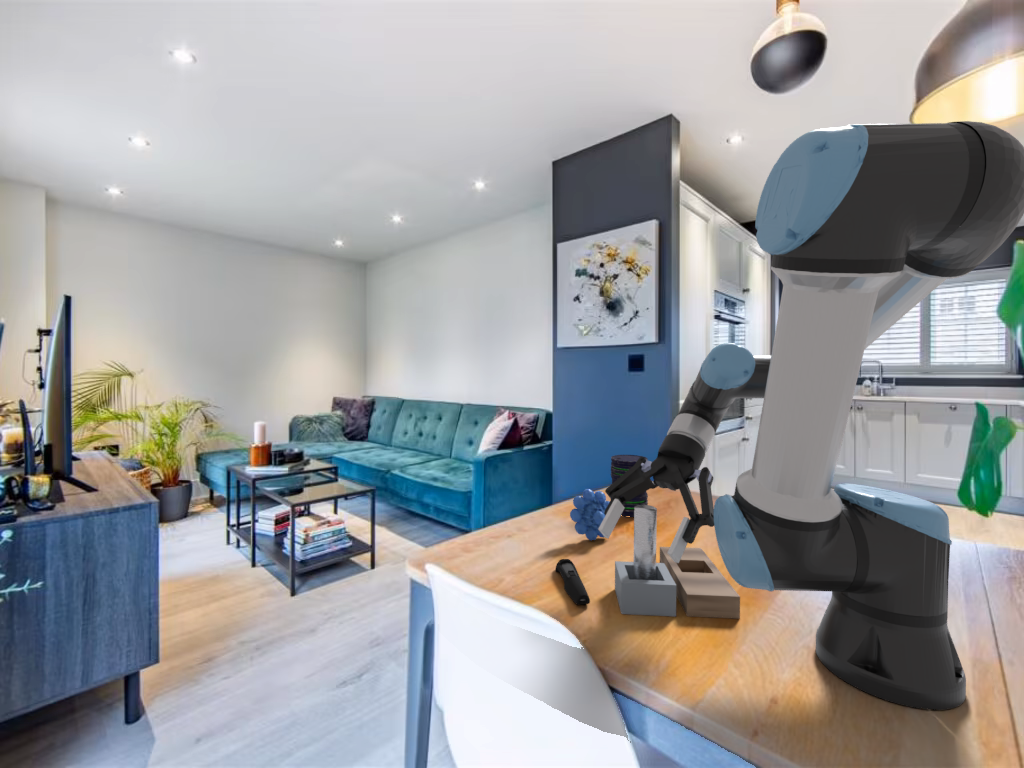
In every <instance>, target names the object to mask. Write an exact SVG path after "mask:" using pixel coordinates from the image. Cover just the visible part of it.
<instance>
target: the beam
mask: <svg viewBox="0 0 1024 768" xmlns="http://www.w3.org/2000/svg"><path fill="white" fill-rule="evenodd" d="M669 548H670V546H659V563H664V564H665V566H666V567H667V569H668V571H669V573H670V575H671V576H672V578H673V580H674V582H675V584H676V599H677V600H678V601H679V604H680V605H681V607H682V609H683V611H684V613H685V615H686V616H687V617H697V618H716V619H719V618H720V619H721V618H722V619H735V620H736V619H738V620H739V619H740V618H741V596H740V594H739V593H737V591H736V590H735V589H734V587H733V586H732V585H731V583H730V582H729V581H728V580H727V579H726V577H725V576H724V575H723V573H722V572H721V571H720V569H718V567H717V566H716V565H715V564H714V562H713V561H712V559H710V557H709V556H708V555H707V554H706V552H705V550H703V548H701V547H687V546H686V548H685V550H684V552H683V555H682V557H681V559H680V561H679V563H676V562H674V561H673V559H672V558H671V557H670V555H669V554H668V550H669Z"/></svg>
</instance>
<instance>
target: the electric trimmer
mask: <svg viewBox="0 0 1024 768" xmlns="http://www.w3.org/2000/svg"><path fill="white" fill-rule="evenodd" d="M555 573H559V574H560V575H561V577H562V579H563V582H564V584H563V587H564V591H565V592H566V593H567V595H568V597H570V598H571V600H572V601H573V602H574V603H575V605H578V606H579V605H589V604H590V603H591V600H590V597H589V594H588V592H587V590H586V587H585V585H584V583H583V581H582V579H581V577H580V574H579V572H578V569H577V568H576V565H575V564H574V563H573V561H572V560H571V559H570V558H563V559H562V558H561V559H560V560H558V562H557V563H556V565H555Z"/></svg>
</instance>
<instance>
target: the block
mask: <svg viewBox="0 0 1024 768" xmlns="http://www.w3.org/2000/svg"><path fill="white" fill-rule="evenodd" d="M633 569H634V561H619V560H614V591H615V595H616V598H617V602H618V606H619V611H620V614H621V615H637V616H638V615H639V616H657V617H660V616H661V617H677V596H676V584H675V582H674V580H673V578H672V576H671V575H670V573H669V571H668V569H667V567H666V566H665V564H664V563H660V562H656V580H633Z"/></svg>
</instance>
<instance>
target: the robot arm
mask: <svg viewBox="0 0 1024 768" xmlns="http://www.w3.org/2000/svg"><path fill="white" fill-rule="evenodd" d="M758 201H759V202H758V205H757V209H756V216H755V226H754V227H755V229H756V230H757V232H756V233H755V237H756V242H757V245H758V246H759V248H760V249H761V250H762V251H763V252H765V253H767V254H769V255H771V256H772V257H771V258H772V259H771V265H770V269H771V271H772V272H773V274H775V275H776V277H777V278H778V279H779V280H780V282H781V283H782V291H781V295H780V296H781V297H780V303H779V308H778V313H777V319H776V325H775V328H776V329H775V332H774V338H773V343H772V350H771V354H764V355H763V354H762V355H761V354H755V355H754V354H752V352H751V351H750V350H749V349H748V348H746V347H745V346H743V345H737V344H736V343H734V342H733V343H732V342H725V343H721V344H718V345H716V346H715V347H713V348H712V349H711V350H710V351H709V353H708V354H707V355H706V357H705V358H704V360H703V362H702V363H701V366H700V369H699V371H698V372H697V373H698V374H697V376H696V377H695V380H694V381H693V383H692V384H691V386H690V388H689V390H688V393H687V395H686V396H685V399H684V401H683V403H682V405H681V407H680V409H679V411H678V413H677V414H676V416H675V418H674V419H673V421H672V423H671V425H670V427H669V429H668V431H667V432H666V436H664V439H663V441H662V443H661V444H660V447H659V449H658V452H657V456H656V458H655V459H654V460H653V461H650V460H649V459H648V460H646V459H645V458H644V457H645V456H643V455H641V456H642V457H640V458H639V459H638V460H637V462H636V463H635V465H634V466H633V467H631V468H630V469H629V470H628V471H627V472H626V473H624V474H623V475H622V476H621V477H620V478H618V479H617V480H616V481H615V482H614V483H613V484H612V483H611V484H610V485H609V486H608V487H607V488H605V490H604V491H605V494H606V495H607V497H609V498H610V502H609V504H608V506H607V508H606V510H605V512H604V514H605V515H606V516H605V517H604V519H603V521H602V523H601V525H600V527H599V528H598V530H599V531H600V532H601V533H602V534H603V536H604V538H606V539H608V540H609V539H610V537H611V534H612V532H613V531H614V530H615V527H616V525H617V523H618V521H619V519H620V518H621V514H622V512H623V510H624V506H623V505H622V504H624V503H626V502H628V501H629V500H631V499H633V498H635V497H636V496H638V495H640V494H642V493H643V492H645V491H646V492H647V491H649V490H654V489H656V488H657V487H658V488H661V489H669V490H670V491H673V492H676V490H679V492H680V495H681V497H682V500H683V502H684V505H685V508H686V510H687V513H688V514H687V515H688V516H689V517H686V516H683V518H682V519H681V522H680V525H679V527H678V529H677V531H676V533H675V535H674V537H673V540H672V541H671V543H670V546H669V547H670V548H669V550H668V554H669V555H670V557H671V558H672V559H673V561H674V562H676V563H679V561H680V559H681V557H682V555H683V552H684V550H685V548H686V547H687V545H688V544H690V545H691V544H693V543H694V542H695V539H696V537H697V535H698V533H699V530H700V529H701V527H703V526H704V527H705V526H708V527H710V528H711V527H712V528H713V527H714V532H715V533H714V534H715V537H716V542H717V546H718V550H719V553H720V556H721V558H722V561H723V564H724V566H725V569H726V570H727V572H728V573H729V575H730V577H731V579H732V580H734V582H736V584H738V585H739V586H741V587H743V588H747V589H755V590H762V591H763V590H764V591H768V592H774V591H793V592H794V591H795V592H796V591H799V592H801V591H802V592H804V591H805V592H831V597H830V601H829V602H828V605H827V606H826V609H825V611H824V613H823V616H822V619H821V622H820V623H819V626H818V627H817V629H816V634H815V653H816V656H817V657H818V659H819V661H820V662H821V664H823V666H825V668H827V669H828V670H829V671H830V672H831V673H832V674H834V675H835V676H836V677H838V678H840V679H841V680H842V681H844V682H845V683H848V684H849V685H851V686H853V687H854V688H857V689H858V690H860V691H863V692H865V693H867V694H869V695H872V696H873V697H876V698H880V699H882V700H885V701H888V702H891V703H894V704H899V705H901V706H905V705H906V707H909V706H911V707H910V708H915V707H916V708H915V709H921V708H924V709H923V710H930V709H934V710H933V711H935V709H937V710H936V711H942V710H951V709H954V708H957V707H960V706H961V705H962V704H963V703H964V702H965V700H966V697H967V695H966V693H967V677H966V672H965V670H964V668H963V666H962V662H961V660H960V658H959V655H958V652H957V648H956V646H955V644H954V640H953V638H952V635H951V633H950V631H949V627H948V626H949V625H948V612H949V611H948V609H949V605H948V604H949V577H950V576H949V574H950V555H951V554H950V552H951V546H952V543H953V542H952V539H951V536H950V534H951V533H950V521H949V516H948V514H947V513H946V511H945V510H944V509H943V508H942V507H940V506H939V505H937V504H935V502H934V503H933V502H932V501H929V500H926V499H924V498H919V497H917V496H913V495H911V494H906V493H902V492H898V491H894V490H890V489H885V488H880V487H875V486H870V485H869V486H868V485H863V484H855V483H845V482H844V483H838V484H836V485H834V487H833V488H832V486H833V482H834V481H833V480H834V478H835V473H836V469H837V465H838V461H839V457H840V453H841V448H842V445H843V444H842V443H843V440H844V435H845V432H846V428H847V424H848V421H849V415H850V412H851V411H850V410H851V407H852V402H853V399H854V396H855V395H854V394H855V390H856V387H857V386H856V385H857V381H858V377H859V374H860V370H861V367H862V361H863V357H864V352H865V350H866V349H867V348H868V347H870V345H872V344H873V343H874V342H875V341H876V340H878V338H880V337H881V336H883V334H884V333H886V332H887V331H888V330H889V329H890V328H891V327H893V326H894V325H895V324H896V323H898V322H899V321H900V320H901V319H902V318H903V317H904V316H905V315H907V314H908V313H909V312H910V311H912V310H913V308H915V307H917V305H918V304H920V302H922V301H923V300H924V299H926V297H927V296H929V295H930V294H931V293H932V292H934V291H935V290H936V288H938V287H939V286H940V285H942V283H944V282H945V281H946V280H952V279H957V278H961V277H963V276H966V275H967V274H969V273H971V272H972V271H973V270H975V269H976V268H977V267H978V266H980V265H981V264H982V263H983V262H984V261H986V259H988V258H989V257H990V256H991V255H992V254H993V253H995V251H997V250H998V249H999V248H1000V247H1001V246H1002V245H1003V243H1005V242H1006V240H1007V239H1008V238H1009V236H1010V235H1011V234H1012V233H1013V232H1014V230H1016V228H1017V226H1018V225H1019V223H1020V221H1021V220H1022V218H1023V217H1024V145H1023V144H1022V143H1021V142H1020V140H1019V139H1018V138H1016V137H1015V136H1014V135H1012V134H1011V133H1010V132H1007V131H1006V130H1004V129H1002V128H1000V127H999V126H997V125H994V124H989V123H985V122H981V121H971V120H967V121H965V120H964V121H963V120H962V121H961V120H960V121H952V122H951V121H950V122H949V121H948V122H945V123H942V122H941V123H940V122H935V123H931V122H929V123H922V122H921V123H875V124H874V123H872V124H871V123H866V124H861V123H860V124H859V123H856V124H848V125H842V126H834V127H826V128H820V129H819V128H818V129H813V130H810V131H808V132H806V133H804V134H802V135H800V136H799V137H797V138H796V139H795V140H793V141H792V142H791V143H790V144H789V145H788V146H787V147H786V148H785V149H784V150H783V152H782V153H781V154H780V155H779V158H777V160H776V162H775V163H774V165H773V166H772V167H771V170H770V172H769V173H768V175H767V179H766V181H765V184H764V185H763V188H762V191H761V193H760V196H759V200H758ZM736 399H763V403H762V408H761V413H760V421H759V426H758V431H757V435H756V437H757V438H756V442H755V443H756V444H755V448H754V449H755V450H754V453H753V454H754V455H753V460H752V466H751V467H752V468H749V469H748V470H745V471H744V472H742V473H741V474H739V475H738V476H737V479H736V483H735V487H734V493H733V495H731V494H727V493H725V494H724V495H721V496H719V497H717V498H716V500H715V502H714V501H713V493H712V484H713V481H714V476H713V474H712V472H711V471H710V469H709V468H708V467H707V466H704V467H702V468H701V469H700V467H701V465H702V463H703V462H704V459H705V457H706V453H707V452H708V449H709V448H710V446H711V445H712V441H713V439H714V438H715V435H716V433H717V430H718V428H719V426H720V424H721V422H722V421H723V418H724V416H725V414H726V413H727V411H728V410H729V408H730V407H731V405H732V404H733V403H734V402H735V400H736ZM651 478H652V479H653V480H652V479H651ZM695 479H696V480H697V482H698V487H699V488H698V489H699V497H700V507H701V513H699V509H698V507H697V505H696V502H695V500H694V497H693V496H692V492H691V490H690V487H689V483H691V482H693V481H694V480H695ZM621 496H622V497H621ZM620 497H621V498H620ZM713 502H714V503H713Z"/></svg>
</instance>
